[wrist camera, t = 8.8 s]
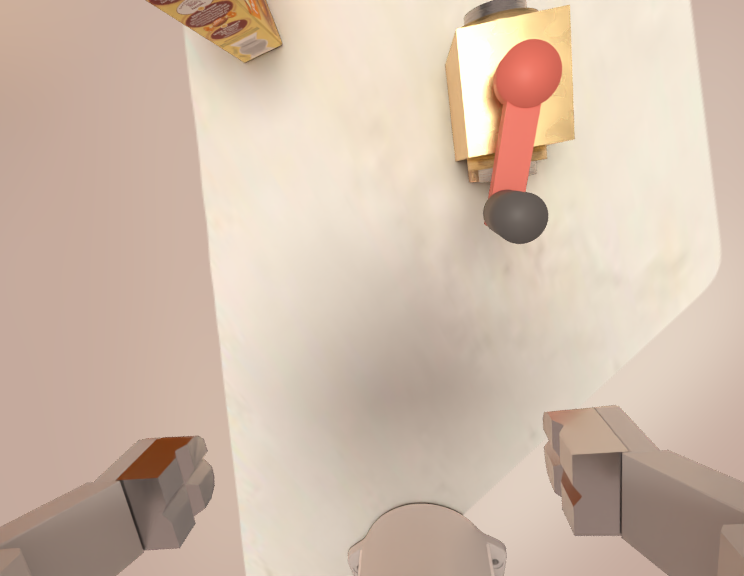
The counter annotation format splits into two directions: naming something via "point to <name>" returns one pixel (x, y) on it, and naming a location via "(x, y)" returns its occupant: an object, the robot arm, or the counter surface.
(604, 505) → the robot arm
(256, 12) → the candy box
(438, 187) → the counter surface
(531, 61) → the lever
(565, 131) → the valve
